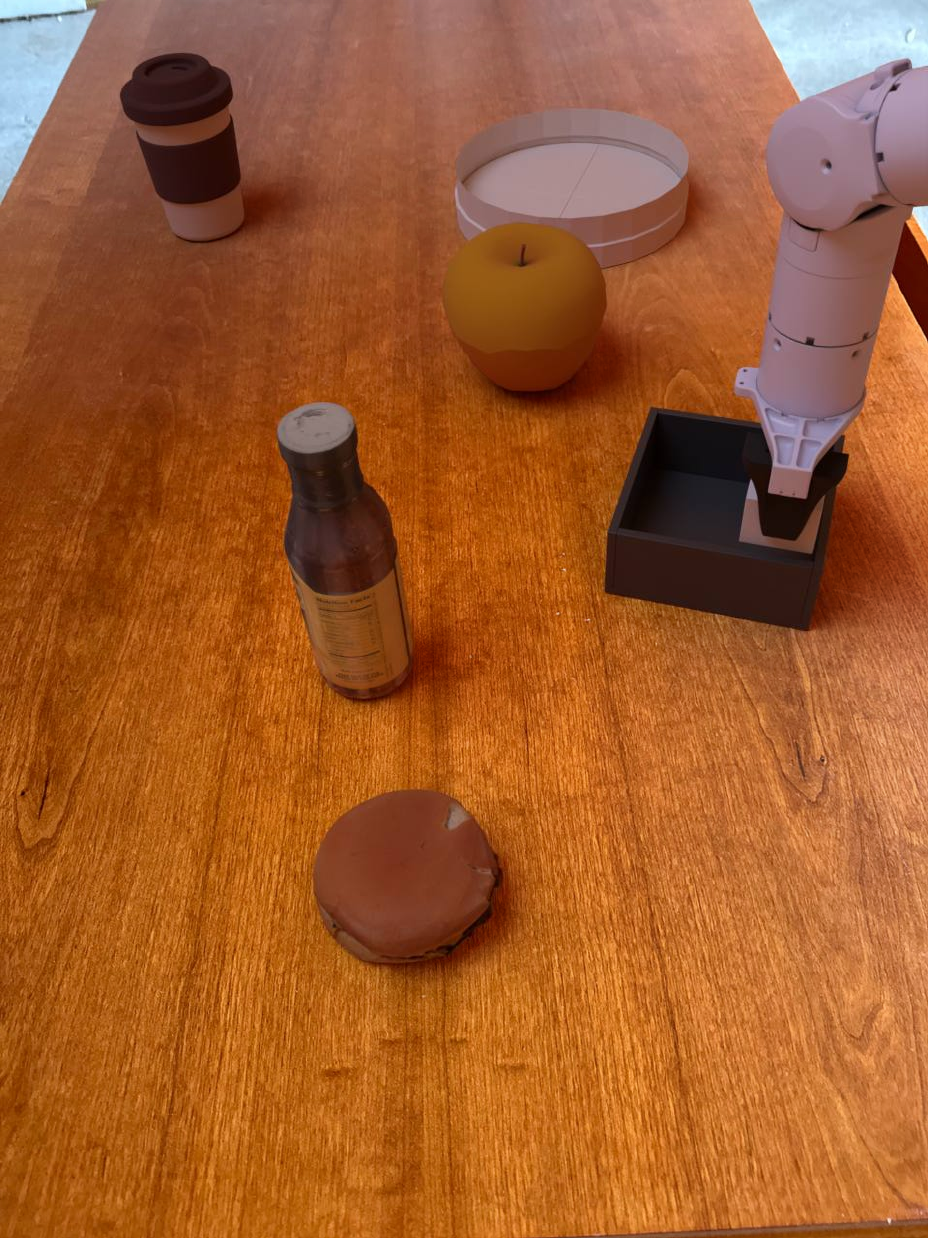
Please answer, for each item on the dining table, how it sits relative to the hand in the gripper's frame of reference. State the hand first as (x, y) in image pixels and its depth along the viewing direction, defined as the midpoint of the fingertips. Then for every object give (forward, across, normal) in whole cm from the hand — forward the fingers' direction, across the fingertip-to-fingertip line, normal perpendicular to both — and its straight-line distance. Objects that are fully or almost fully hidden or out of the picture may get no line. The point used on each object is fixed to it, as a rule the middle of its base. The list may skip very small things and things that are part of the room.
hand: (784, 509), depth 70 cm
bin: (+7, -3, -4) cm, 9 cm away
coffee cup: (+7, -35, -59) cm, 69 cm away
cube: (+1, 0, 0) cm, 1 cm away
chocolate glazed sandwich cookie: (+7, +28, -15) cm, 32 cm away
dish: (+7, -45, -25) cm, 52 cm away
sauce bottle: (+7, +14, -23) cm, 28 cm away
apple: (+7, -19, -22) cm, 30 cm away
